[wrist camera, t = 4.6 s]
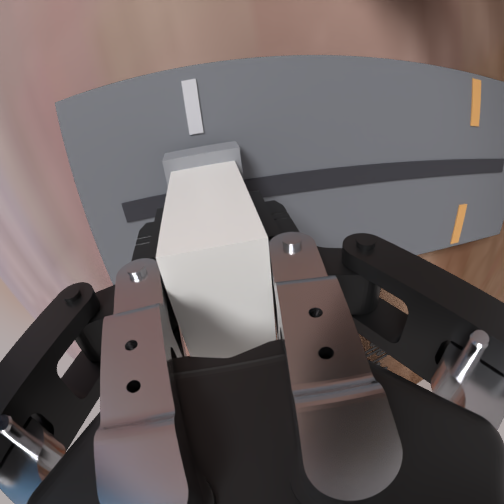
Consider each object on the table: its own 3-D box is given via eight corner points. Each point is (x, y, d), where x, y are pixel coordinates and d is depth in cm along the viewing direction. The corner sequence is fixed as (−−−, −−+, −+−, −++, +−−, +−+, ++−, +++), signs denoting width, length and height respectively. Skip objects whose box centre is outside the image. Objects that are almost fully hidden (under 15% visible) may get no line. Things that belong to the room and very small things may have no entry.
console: (70, 98, 12) (53, 103, 10) (504, 82, 15) (524, 88, 13) (129, 290, 19) (125, 312, 17) (484, 221, 21) (500, 234, 19)
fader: (164, 153, 12) (138, 240, 6) (235, 140, 13) (277, 215, 7) (187, 252, 15) (190, 376, 9) (248, 241, 15) (285, 359, 9)
